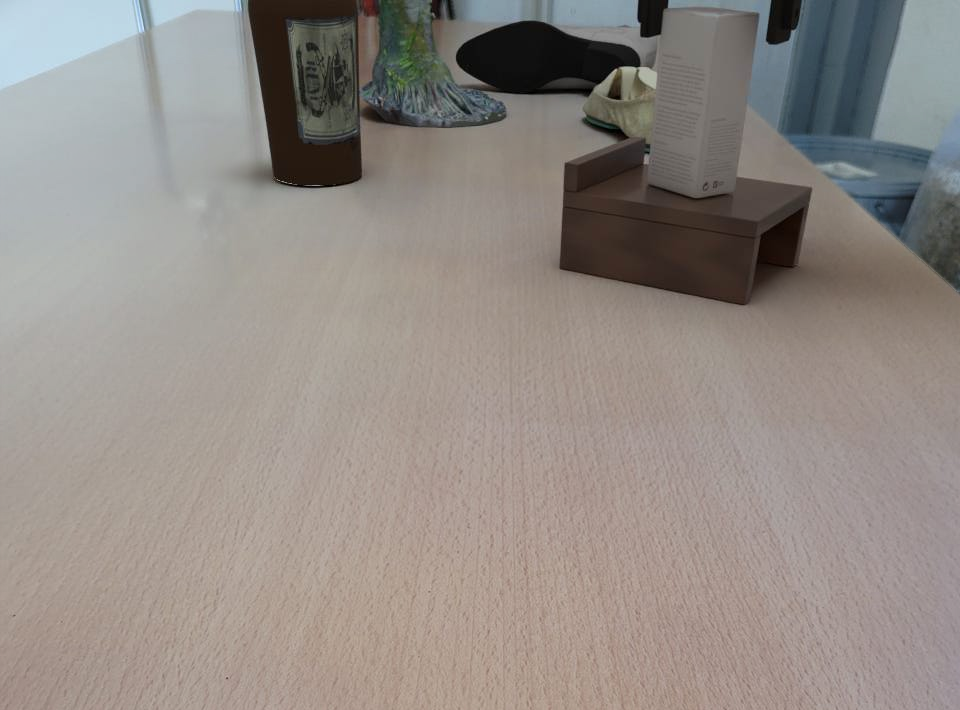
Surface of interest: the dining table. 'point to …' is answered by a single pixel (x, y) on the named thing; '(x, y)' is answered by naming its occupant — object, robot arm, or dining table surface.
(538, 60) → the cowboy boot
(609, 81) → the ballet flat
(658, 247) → the shelf
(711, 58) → the cosmetic box
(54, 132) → the dining table surface
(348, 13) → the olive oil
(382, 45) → the tree stump
